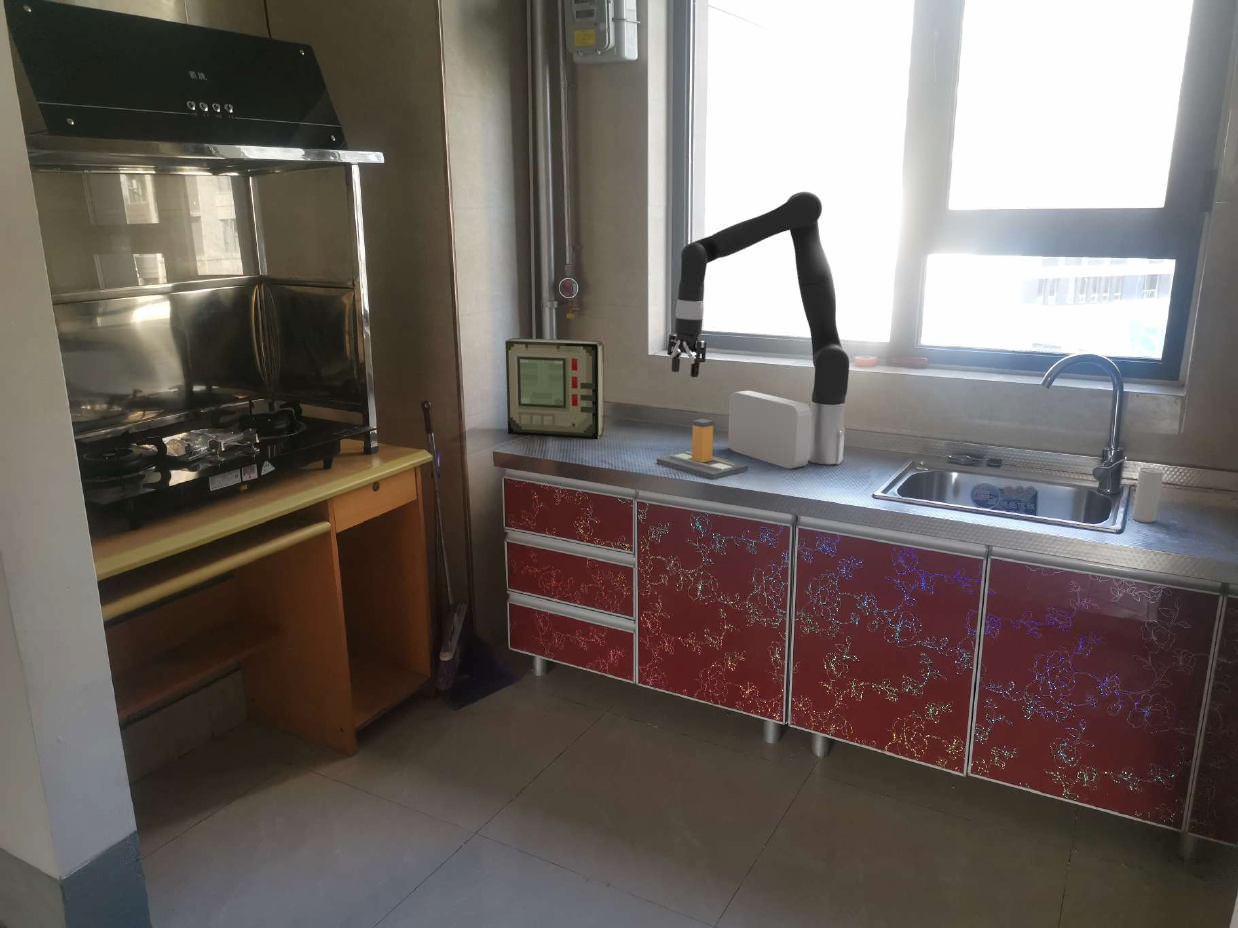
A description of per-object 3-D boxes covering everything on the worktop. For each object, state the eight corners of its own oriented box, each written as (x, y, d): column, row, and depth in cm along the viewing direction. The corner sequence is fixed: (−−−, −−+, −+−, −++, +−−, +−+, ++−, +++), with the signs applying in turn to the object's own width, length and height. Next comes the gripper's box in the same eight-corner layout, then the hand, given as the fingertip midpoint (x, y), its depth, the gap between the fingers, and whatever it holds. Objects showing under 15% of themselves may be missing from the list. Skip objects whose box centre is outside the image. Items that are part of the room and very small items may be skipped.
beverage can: (1147, 516, 214) (1155, 467, 210) (1160, 523, 209) (1168, 472, 206) (1127, 516, 213) (1135, 467, 210) (1139, 523, 209) (1147, 472, 206)
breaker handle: (691, 459, 255) (692, 420, 252) (701, 457, 258) (702, 418, 255) (702, 462, 252) (703, 423, 249) (712, 460, 254) (713, 421, 252)
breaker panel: (656, 463, 259) (656, 456, 258) (691, 455, 268) (691, 448, 267) (713, 479, 243) (713, 472, 242) (748, 470, 252) (748, 463, 251)
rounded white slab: (814, 466, 256) (818, 403, 251) (794, 470, 252) (798, 406, 247) (746, 446, 279) (749, 388, 274) (727, 449, 275) (729, 390, 270)
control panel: (508, 434, 294) (505, 341, 286) (516, 429, 301) (513, 338, 293) (598, 439, 287) (597, 344, 279) (604, 434, 294) (603, 341, 286)
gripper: (716, 319, 250) (710, 378, 254) (683, 313, 261) (679, 369, 265) (694, 320, 246) (689, 379, 250) (663, 313, 257) (658, 370, 261)
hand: (684, 374), depth 258 cm, fingers open, 8 cm apart
